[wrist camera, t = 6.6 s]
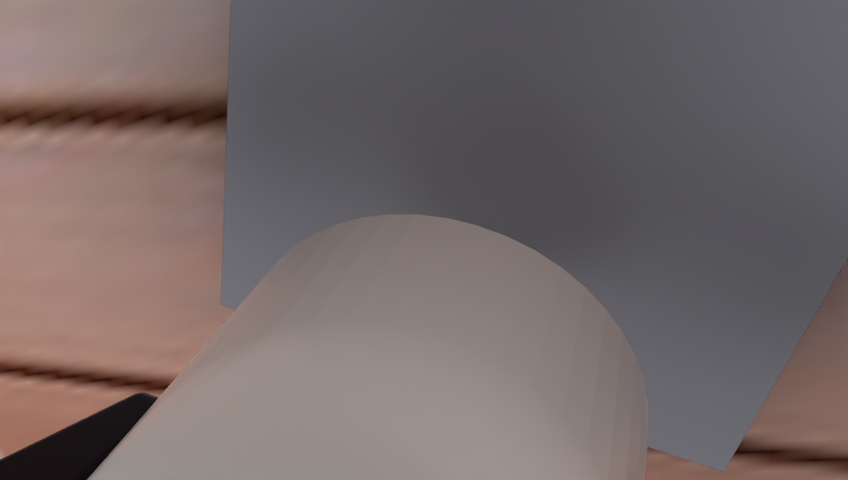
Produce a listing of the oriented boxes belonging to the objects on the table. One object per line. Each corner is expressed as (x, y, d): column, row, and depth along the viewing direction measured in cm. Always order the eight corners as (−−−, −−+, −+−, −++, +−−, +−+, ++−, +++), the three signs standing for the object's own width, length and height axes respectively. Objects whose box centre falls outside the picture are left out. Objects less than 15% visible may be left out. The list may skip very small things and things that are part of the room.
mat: (983, -13, 13) (1000, -4, 13) (721, 449, 20) (723, 472, 19) (255, -179, 15) (236, -178, 15) (234, 289, 22) (221, 304, 21)
